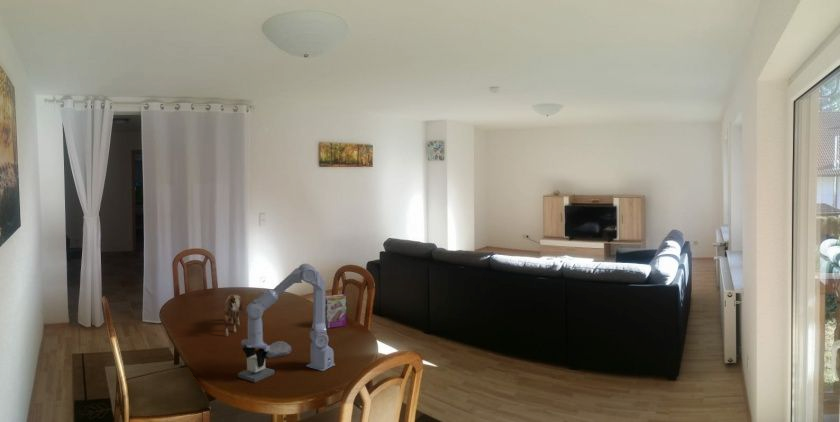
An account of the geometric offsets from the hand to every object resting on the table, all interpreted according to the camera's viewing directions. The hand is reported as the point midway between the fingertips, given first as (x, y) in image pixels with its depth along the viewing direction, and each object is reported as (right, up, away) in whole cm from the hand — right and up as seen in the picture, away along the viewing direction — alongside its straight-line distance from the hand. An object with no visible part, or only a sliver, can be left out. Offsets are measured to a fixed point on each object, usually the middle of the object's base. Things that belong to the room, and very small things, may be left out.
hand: (256, 364), depth 209 cm
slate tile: (0, -4, 0) cm, 4 cm away
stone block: (+2, -3, +24) cm, 25 cm away
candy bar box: (+22, +1, +63) cm, 67 cm away
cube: (0, -2, 0) cm, 2 cm away
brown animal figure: (-27, +1, +59) cm, 65 cm away
